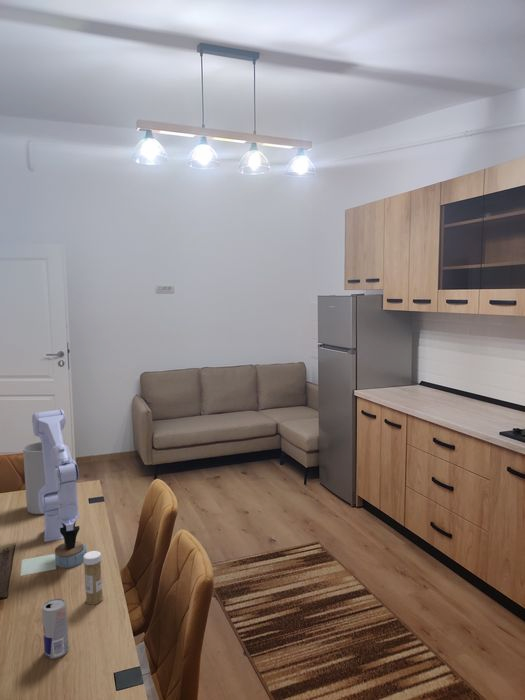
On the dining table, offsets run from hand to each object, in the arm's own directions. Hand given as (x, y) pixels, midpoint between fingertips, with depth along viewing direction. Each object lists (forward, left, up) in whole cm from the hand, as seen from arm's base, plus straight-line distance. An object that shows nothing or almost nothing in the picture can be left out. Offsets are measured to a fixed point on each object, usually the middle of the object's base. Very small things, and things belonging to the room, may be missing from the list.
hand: (70, 542), depth 166 cm
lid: (0, 0, -2) cm, 2 cm away
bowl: (0, 0, -6) cm, 6 cm away
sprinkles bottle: (+25, +5, -6) cm, 26 cm away
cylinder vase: (-46, -8, -6) cm, 47 cm away
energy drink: (+43, -5, -6) cm, 44 cm away
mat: (-1, -10, -6) cm, 11 cm away
